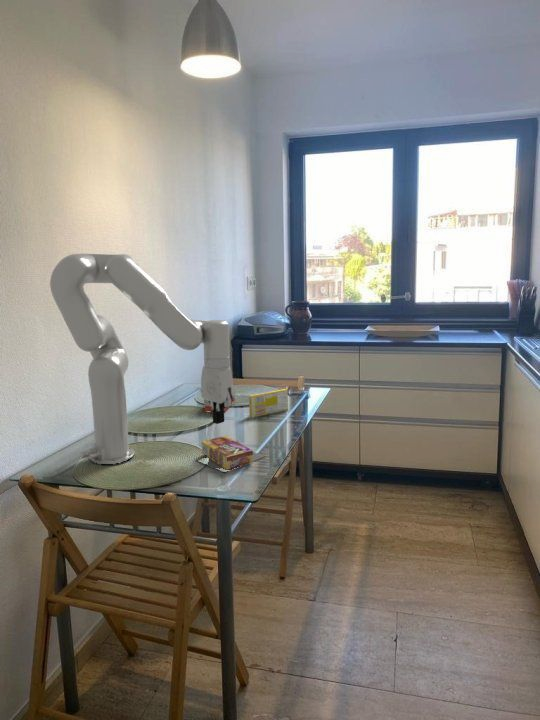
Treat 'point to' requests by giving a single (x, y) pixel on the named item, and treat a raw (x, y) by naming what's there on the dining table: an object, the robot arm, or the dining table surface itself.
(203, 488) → the dining table surface
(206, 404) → the medicine box
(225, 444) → the candy box
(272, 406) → the candy box
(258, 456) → the mat
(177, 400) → the dining table surface
